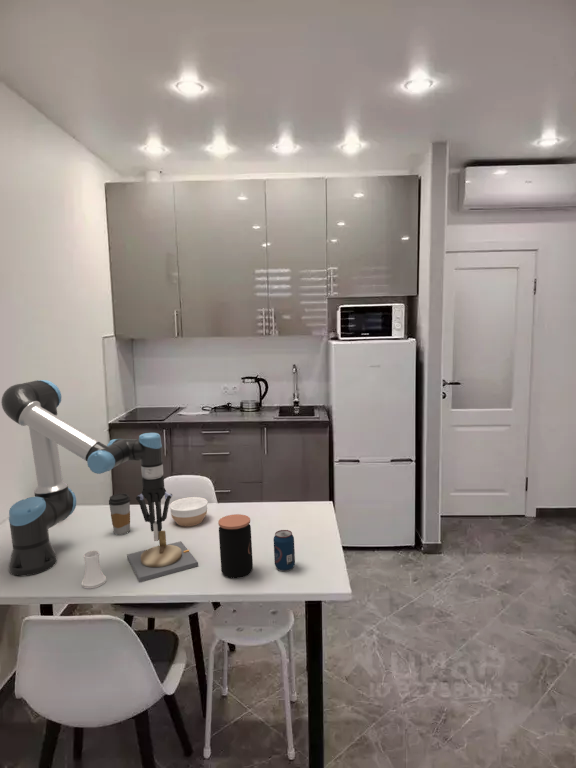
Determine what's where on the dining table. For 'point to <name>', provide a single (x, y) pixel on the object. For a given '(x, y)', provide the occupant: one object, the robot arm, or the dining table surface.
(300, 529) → the dining table surface
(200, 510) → the bowl
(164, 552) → the dial
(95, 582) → the vase
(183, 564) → the dial base
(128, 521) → the coffee cup
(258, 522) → the dining table surface
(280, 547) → the soda can
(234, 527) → the coffee jar
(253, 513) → the dining table surface
